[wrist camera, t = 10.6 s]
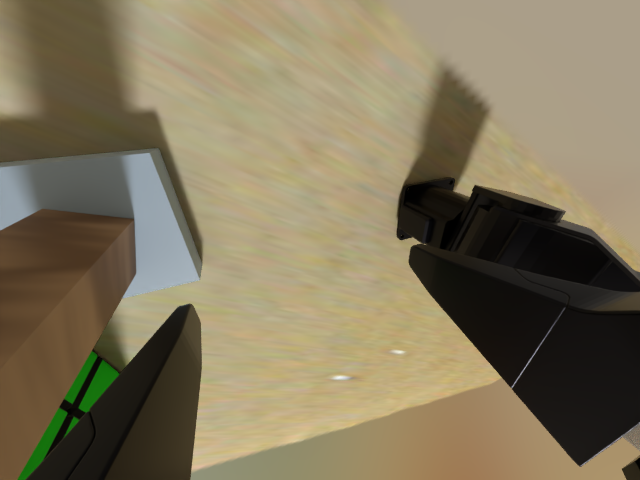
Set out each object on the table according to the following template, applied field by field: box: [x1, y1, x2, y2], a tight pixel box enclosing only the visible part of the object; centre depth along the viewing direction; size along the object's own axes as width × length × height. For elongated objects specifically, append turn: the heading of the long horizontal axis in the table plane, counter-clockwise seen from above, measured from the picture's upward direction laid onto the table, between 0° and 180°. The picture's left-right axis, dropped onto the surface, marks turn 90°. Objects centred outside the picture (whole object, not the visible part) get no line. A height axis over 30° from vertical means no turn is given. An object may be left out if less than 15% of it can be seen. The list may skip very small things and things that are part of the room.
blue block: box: [0, 148, 202, 298], centre depth 17 cm, size 10×10×3 cm
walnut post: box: [0, 209, 136, 480], centre depth 11 cm, size 4×4×12 cm
